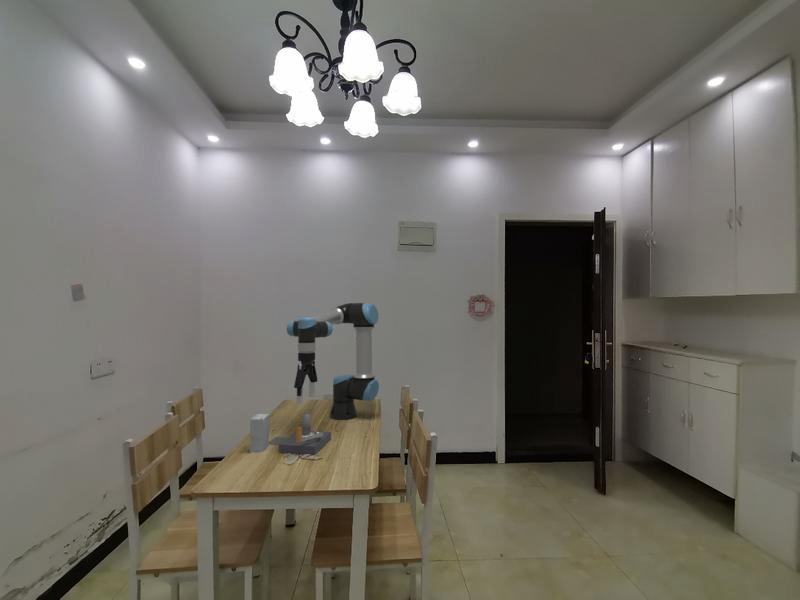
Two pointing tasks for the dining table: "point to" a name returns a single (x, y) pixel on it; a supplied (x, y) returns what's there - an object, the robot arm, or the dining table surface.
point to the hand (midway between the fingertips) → (306, 399)
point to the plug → (306, 425)
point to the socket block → (304, 444)
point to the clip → (300, 439)
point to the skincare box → (259, 432)
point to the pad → (277, 440)
